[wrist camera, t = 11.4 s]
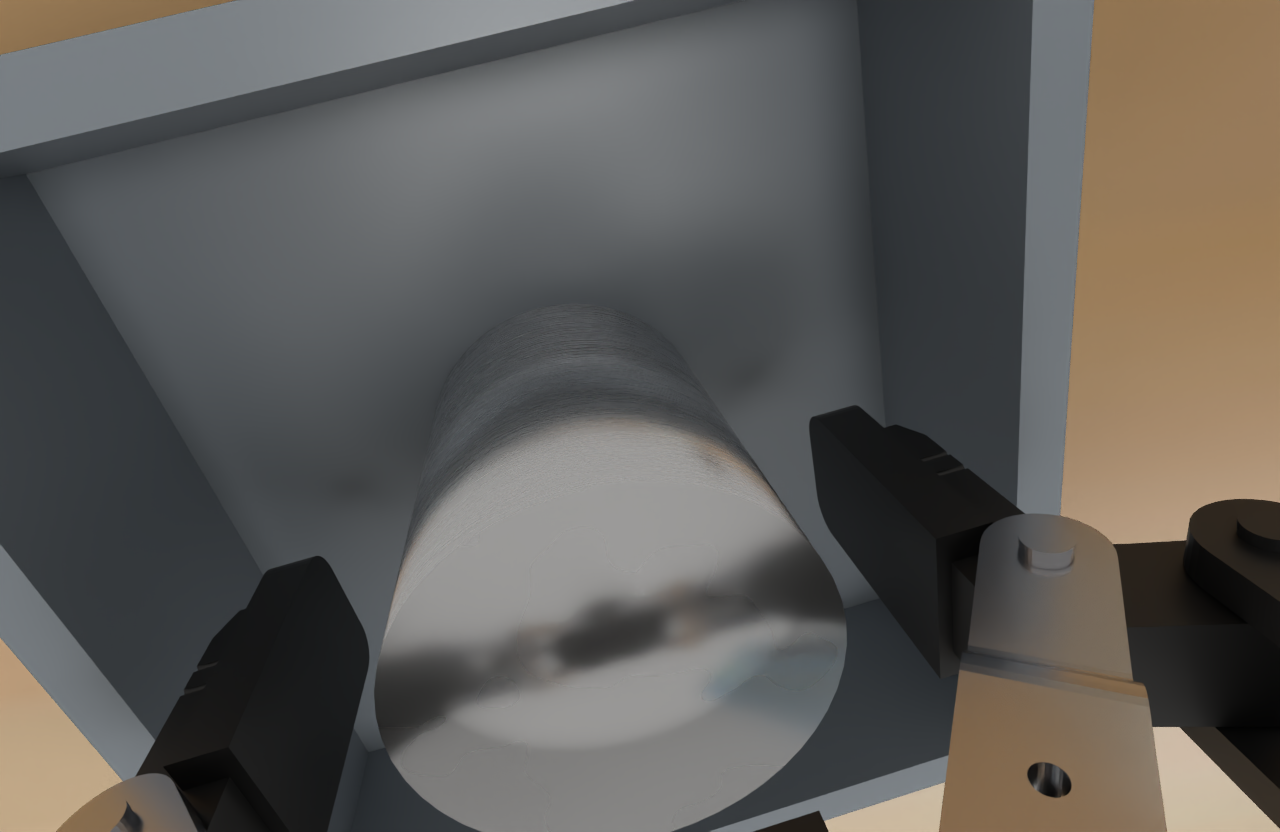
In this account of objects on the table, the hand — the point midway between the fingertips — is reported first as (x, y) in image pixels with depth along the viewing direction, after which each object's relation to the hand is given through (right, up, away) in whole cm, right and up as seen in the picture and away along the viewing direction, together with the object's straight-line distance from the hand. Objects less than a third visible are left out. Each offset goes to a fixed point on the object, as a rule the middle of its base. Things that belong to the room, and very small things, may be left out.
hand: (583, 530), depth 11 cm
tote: (-1, +2, +4) cm, 5 cm away
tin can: (0, +2, +3) cm, 4 cm away
